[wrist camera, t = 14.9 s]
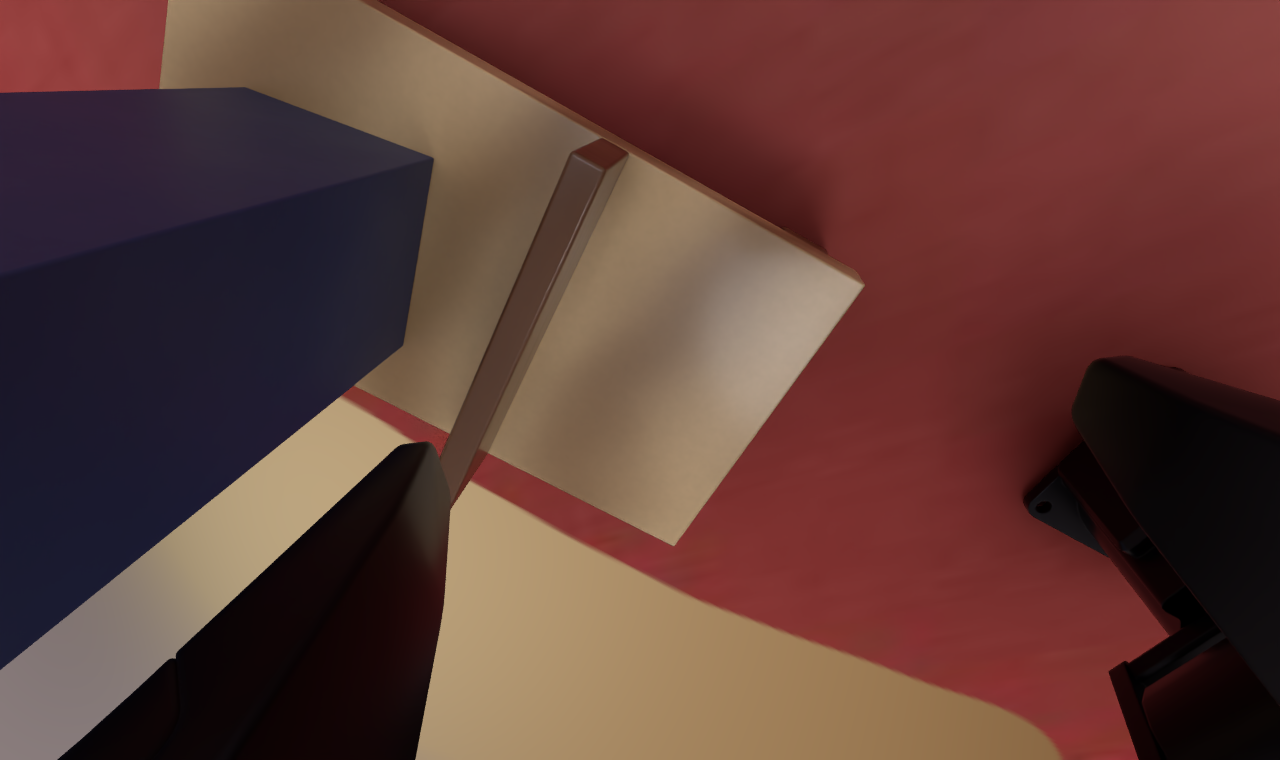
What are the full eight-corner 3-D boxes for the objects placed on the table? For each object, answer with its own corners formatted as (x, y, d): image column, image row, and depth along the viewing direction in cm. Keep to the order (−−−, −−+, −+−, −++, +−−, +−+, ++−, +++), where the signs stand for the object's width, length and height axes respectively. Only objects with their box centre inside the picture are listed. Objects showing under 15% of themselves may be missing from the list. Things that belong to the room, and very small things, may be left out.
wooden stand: (839, 241, 19) (893, 329, 13) (684, 468, 24) (663, 620, 17) (303, -63, 18) (43, -146, 11) (246, 241, 22) (35, 312, 16)
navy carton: (434, 157, 15) (-341, 368, 4) (403, 346, 18) (-139, 783, 7) (244, 86, 15) (-1051, 114, 4) (239, 286, 18) (-579, 630, 7)
